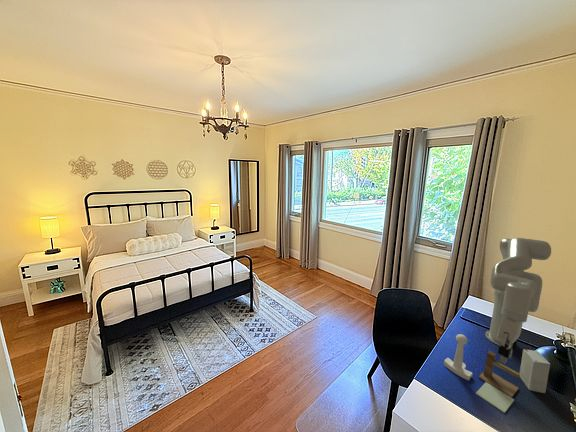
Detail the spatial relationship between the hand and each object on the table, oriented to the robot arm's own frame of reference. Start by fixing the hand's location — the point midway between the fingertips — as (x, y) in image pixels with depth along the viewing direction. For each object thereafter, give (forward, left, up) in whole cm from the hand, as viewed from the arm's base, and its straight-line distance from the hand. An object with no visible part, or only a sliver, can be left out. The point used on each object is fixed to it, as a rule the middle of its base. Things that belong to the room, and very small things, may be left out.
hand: (506, 351), depth 100 cm
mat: (+2, -1, -22) cm, 23 cm away
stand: (-7, -2, -22) cm, 24 cm away
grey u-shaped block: (0, 0, -4) cm, 4 cm away
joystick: (-1, -16, -23) cm, 28 cm away
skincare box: (-19, +5, -23) cm, 30 cm away
